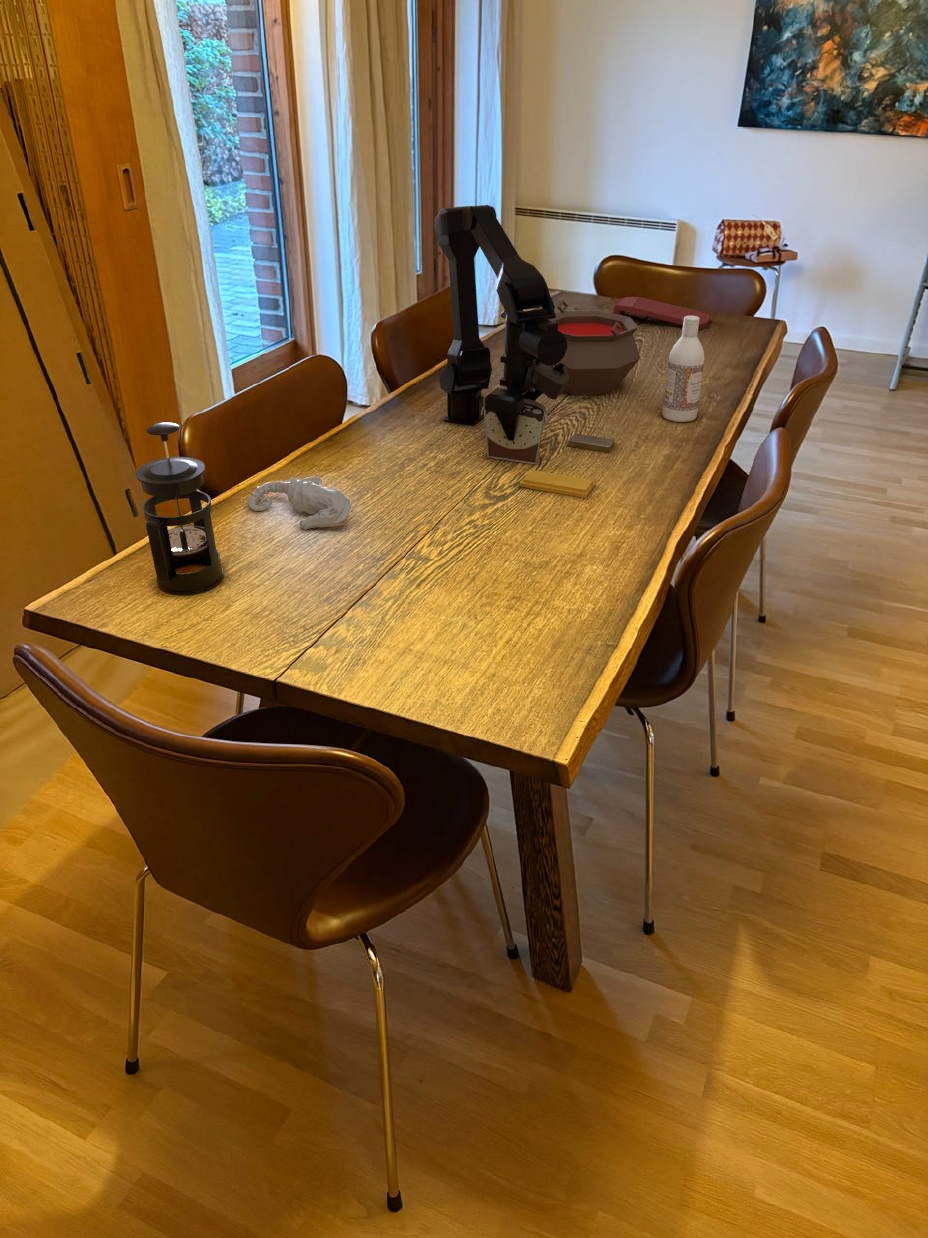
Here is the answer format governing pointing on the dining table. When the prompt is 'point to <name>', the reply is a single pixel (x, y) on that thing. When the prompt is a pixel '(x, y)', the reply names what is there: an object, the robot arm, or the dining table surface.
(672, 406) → the bath foam
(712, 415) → the dining table surface
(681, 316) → the dark red bevelled block
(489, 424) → the food container
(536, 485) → the yellow brown rectangular slab
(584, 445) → the silver flat block
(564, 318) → the brown faceted pot
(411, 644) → the dining table surface
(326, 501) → the seahorse
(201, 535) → the french press
